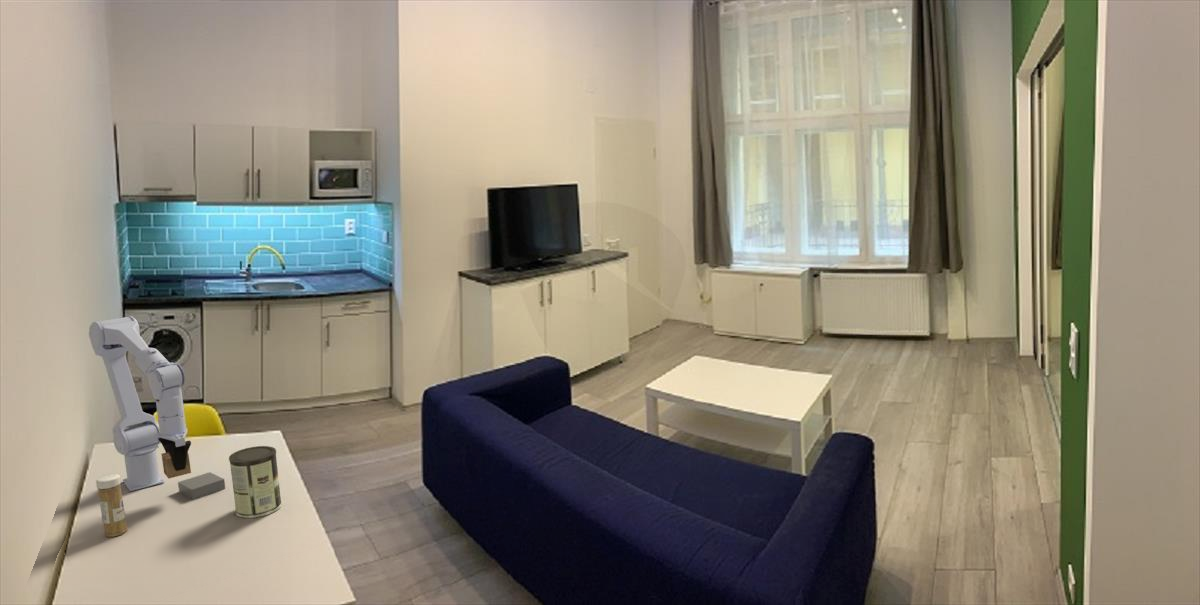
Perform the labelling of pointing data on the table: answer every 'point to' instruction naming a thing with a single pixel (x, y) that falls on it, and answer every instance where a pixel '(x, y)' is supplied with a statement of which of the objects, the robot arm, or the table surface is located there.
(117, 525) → the sprinkles bottle
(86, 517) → the table surface
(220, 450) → the table surface
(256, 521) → the table surface
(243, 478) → the coffee can
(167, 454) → the walnut cube
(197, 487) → the slate slab
